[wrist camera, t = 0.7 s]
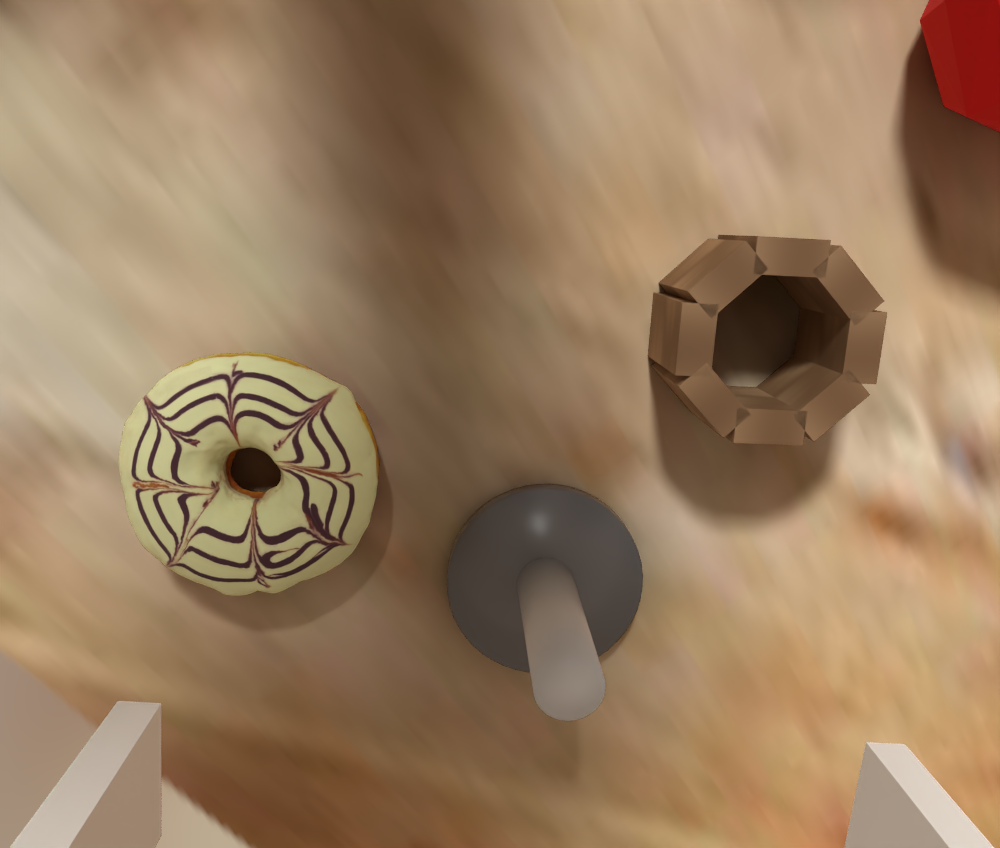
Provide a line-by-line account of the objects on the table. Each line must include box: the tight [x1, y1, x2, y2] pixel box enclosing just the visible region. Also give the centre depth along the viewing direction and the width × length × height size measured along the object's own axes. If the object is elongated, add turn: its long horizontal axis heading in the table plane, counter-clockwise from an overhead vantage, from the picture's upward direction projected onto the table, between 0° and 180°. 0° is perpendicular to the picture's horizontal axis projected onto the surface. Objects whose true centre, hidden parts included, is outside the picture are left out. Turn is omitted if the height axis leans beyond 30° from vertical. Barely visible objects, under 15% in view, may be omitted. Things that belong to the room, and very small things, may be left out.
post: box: [447, 484, 643, 721], centre depth 35 cm, size 9×9×10 cm
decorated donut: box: [119, 352, 379, 596], centre depth 36 cm, size 10×11×4 cm
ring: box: [648, 235, 887, 446], centre depth 35 cm, size 8×8×5 cm
